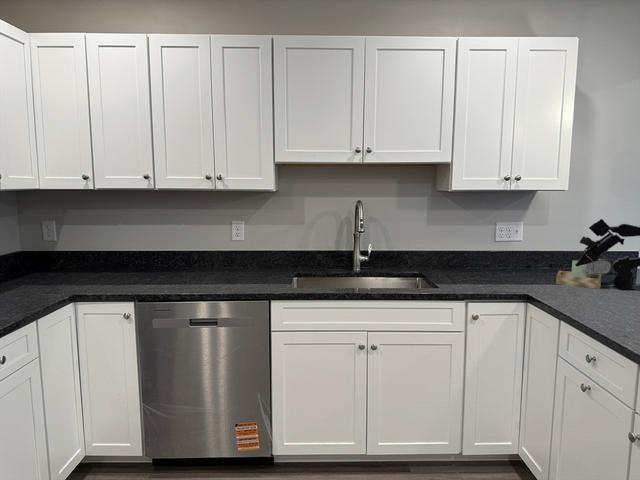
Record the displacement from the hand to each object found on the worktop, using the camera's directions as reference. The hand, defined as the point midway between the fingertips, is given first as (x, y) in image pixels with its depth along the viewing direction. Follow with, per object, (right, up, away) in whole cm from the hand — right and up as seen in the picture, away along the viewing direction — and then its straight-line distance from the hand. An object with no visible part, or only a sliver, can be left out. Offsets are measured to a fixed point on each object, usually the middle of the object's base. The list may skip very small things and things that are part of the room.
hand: (576, 264), depth 203 cm
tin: (+26, -7, +25) cm, 37 cm away
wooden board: (+1, -10, 0) cm, 10 cm away
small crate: (+1, -9, 0) cm, 9 cm away
